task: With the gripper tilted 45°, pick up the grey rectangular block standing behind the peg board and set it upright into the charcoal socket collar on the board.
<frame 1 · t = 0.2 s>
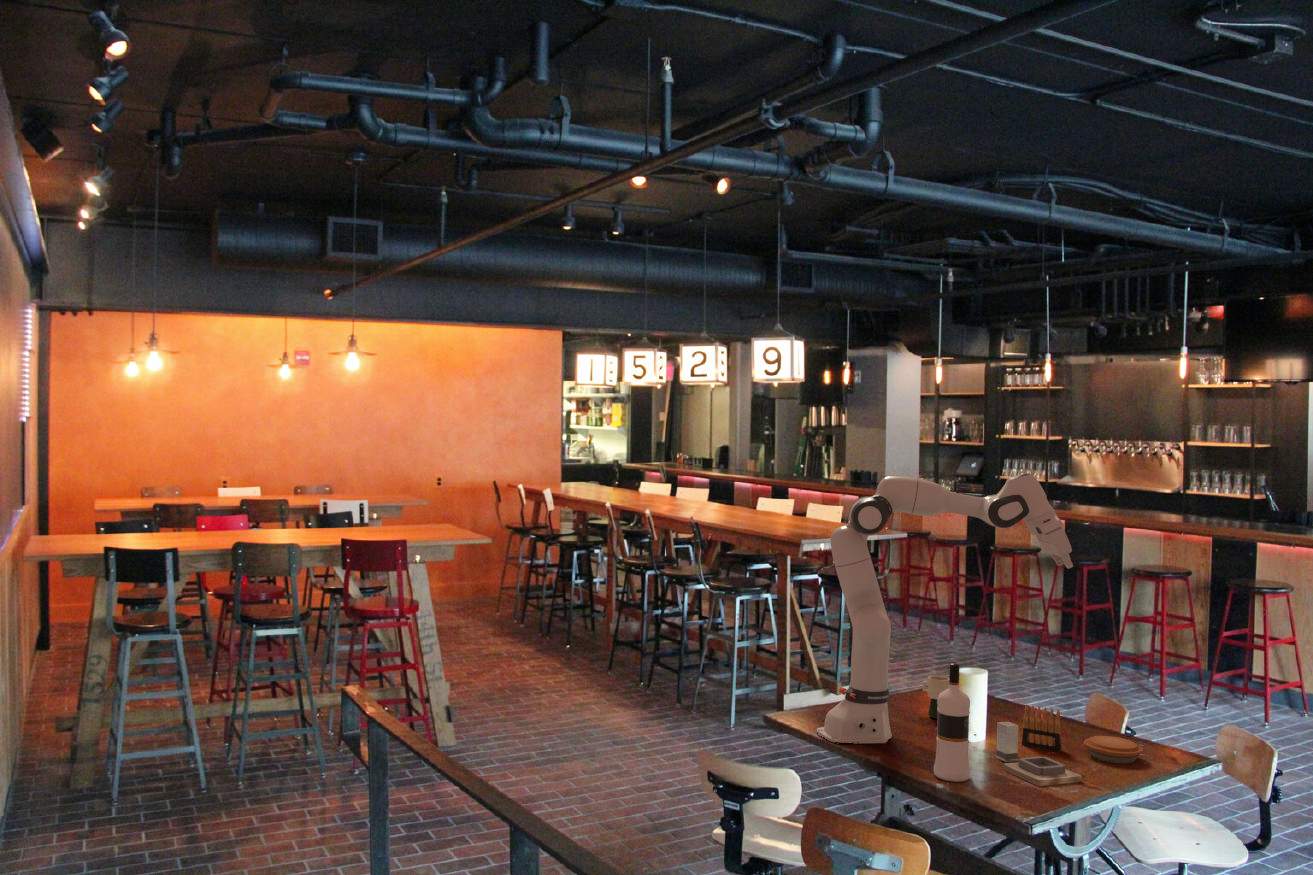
hand: (1065, 566, 292), 54 cm above the table, tool tilted 30°, fingers open, 8 cm apart
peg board: (1041, 775, 267), on the table
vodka: (951, 777, 263), on the table
ammunition clip: (1041, 748, 293), on the table
pie: (1112, 758, 285), on the table
character mug: (938, 718, 322), on the table
grey rectangular block: (1006, 759, 280), on the table
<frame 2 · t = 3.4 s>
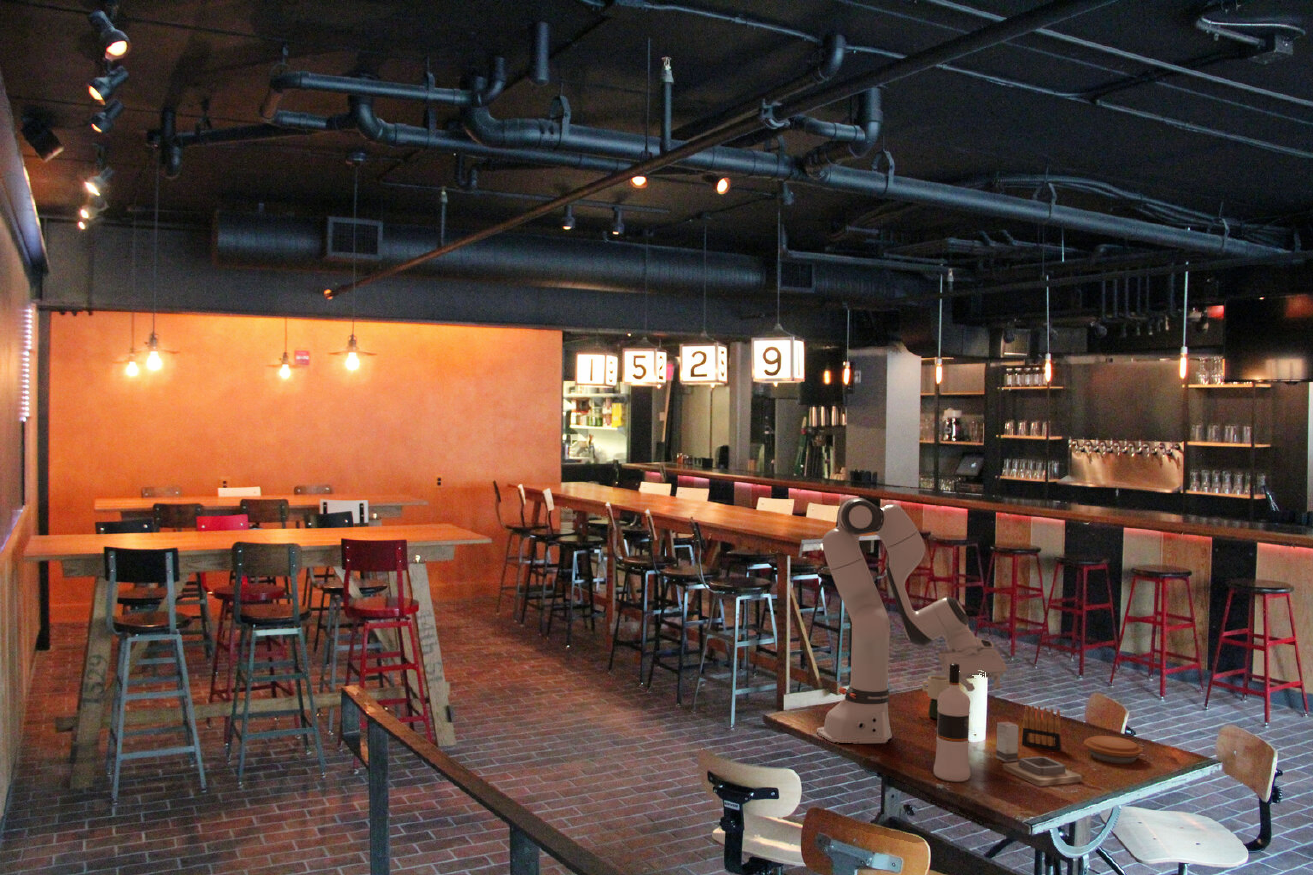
hand: (985, 689, 290), 17 cm above the table, tool tilted 45°, fingers open, 8 cm apart
nothing on the table moved.
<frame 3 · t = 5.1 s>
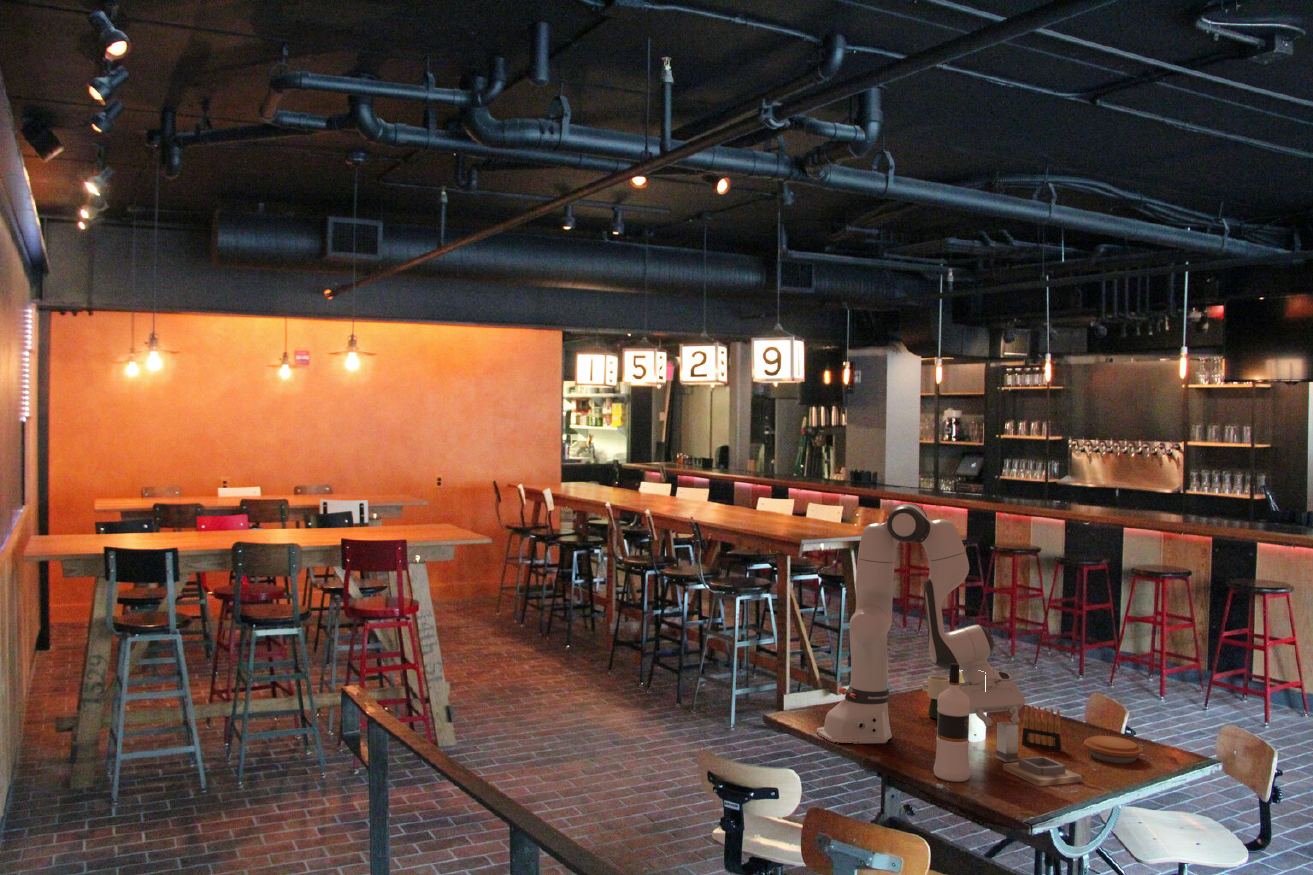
hand: (1003, 723, 283), 9 cm above the table, tool tilted 45°, fingers open, 8 cm apart
nothing on the table moved.
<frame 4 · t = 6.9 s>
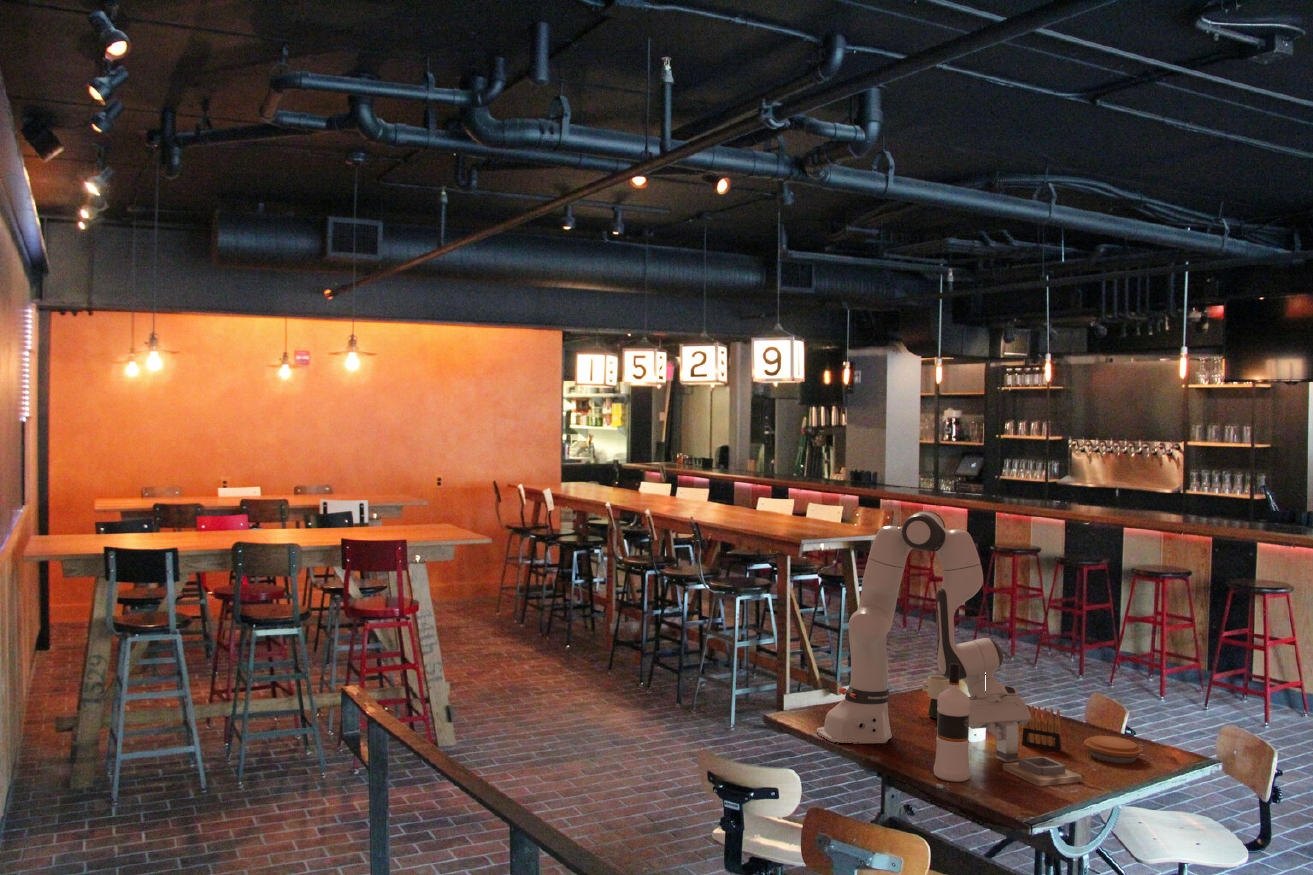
hand: (1008, 739, 280), 6 cm above the table, tool tilted 45°, fingers closed on grey rectangular block, 4 cm apart
grey rectangular block: (1006, 759, 280), on the table, touching gripper
everything else where it was.
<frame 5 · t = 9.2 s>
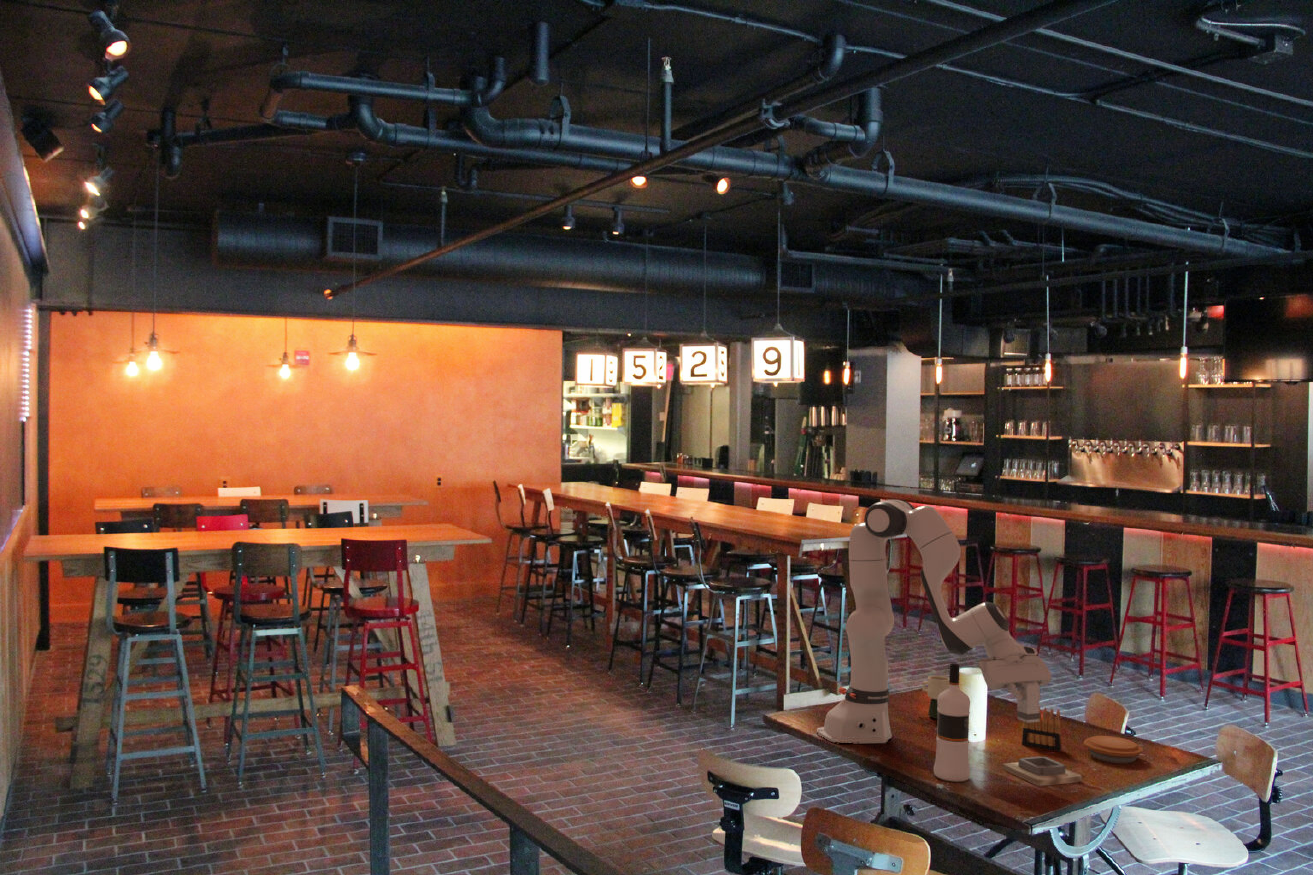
hand: (1029, 699, 273), 19 cm above the table, tool tilted 45°, fingers closed on grey rectangular block, 4 cm apart
grey rectangular block: (1028, 720, 274), point 13 cm above the table, touching gripper
everything else where it was.
when the fingers open (9 cm above the table, at t = 11.7 s): grey rectangular block drops 1 cm, resting on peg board.
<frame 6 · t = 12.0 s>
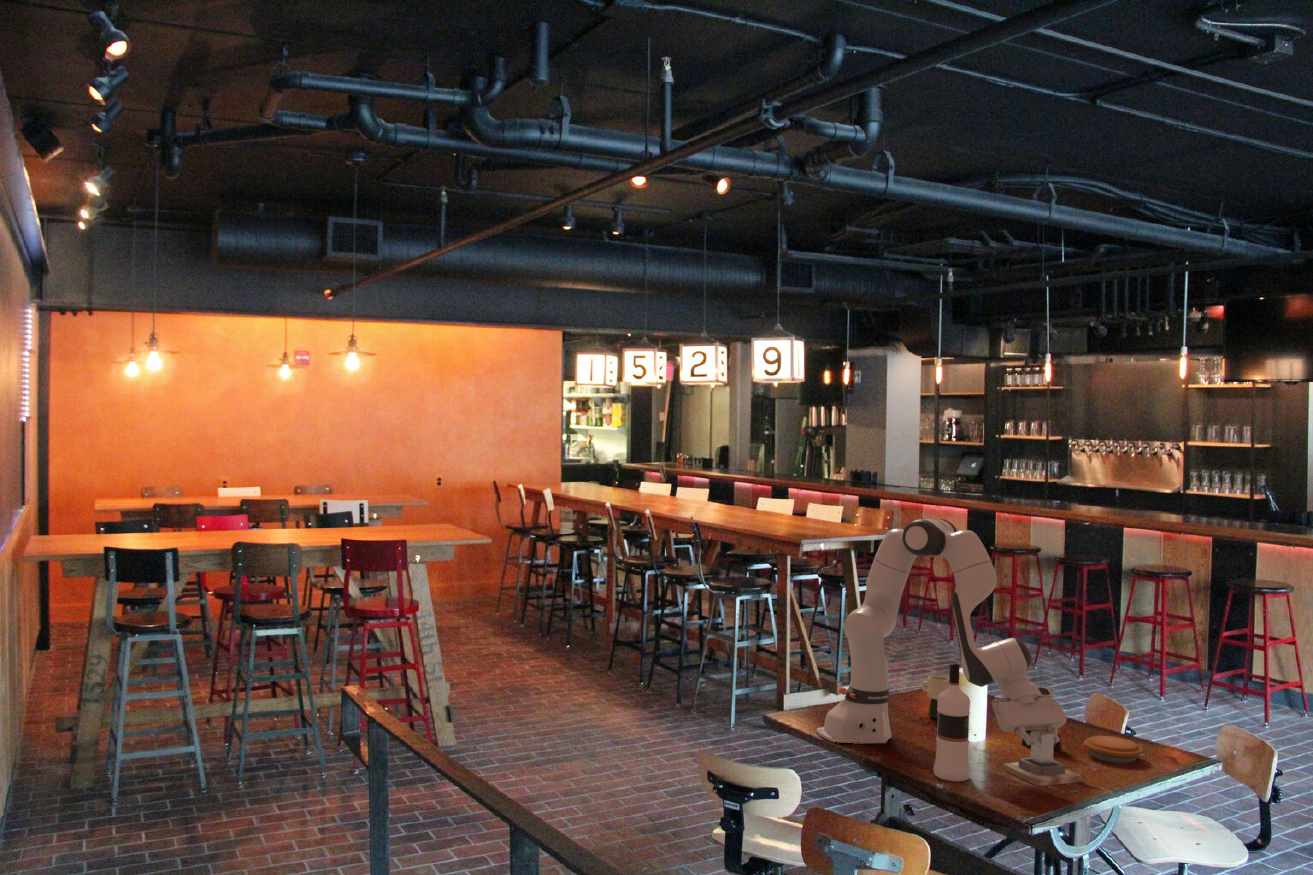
hand: (1044, 742, 267), 9 cm above the table, tool tilted 45°, fingers open, 7 cm apart
grey rectangular block: (1041, 769, 267), point 1 cm above the table, touching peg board
everything else where it was.
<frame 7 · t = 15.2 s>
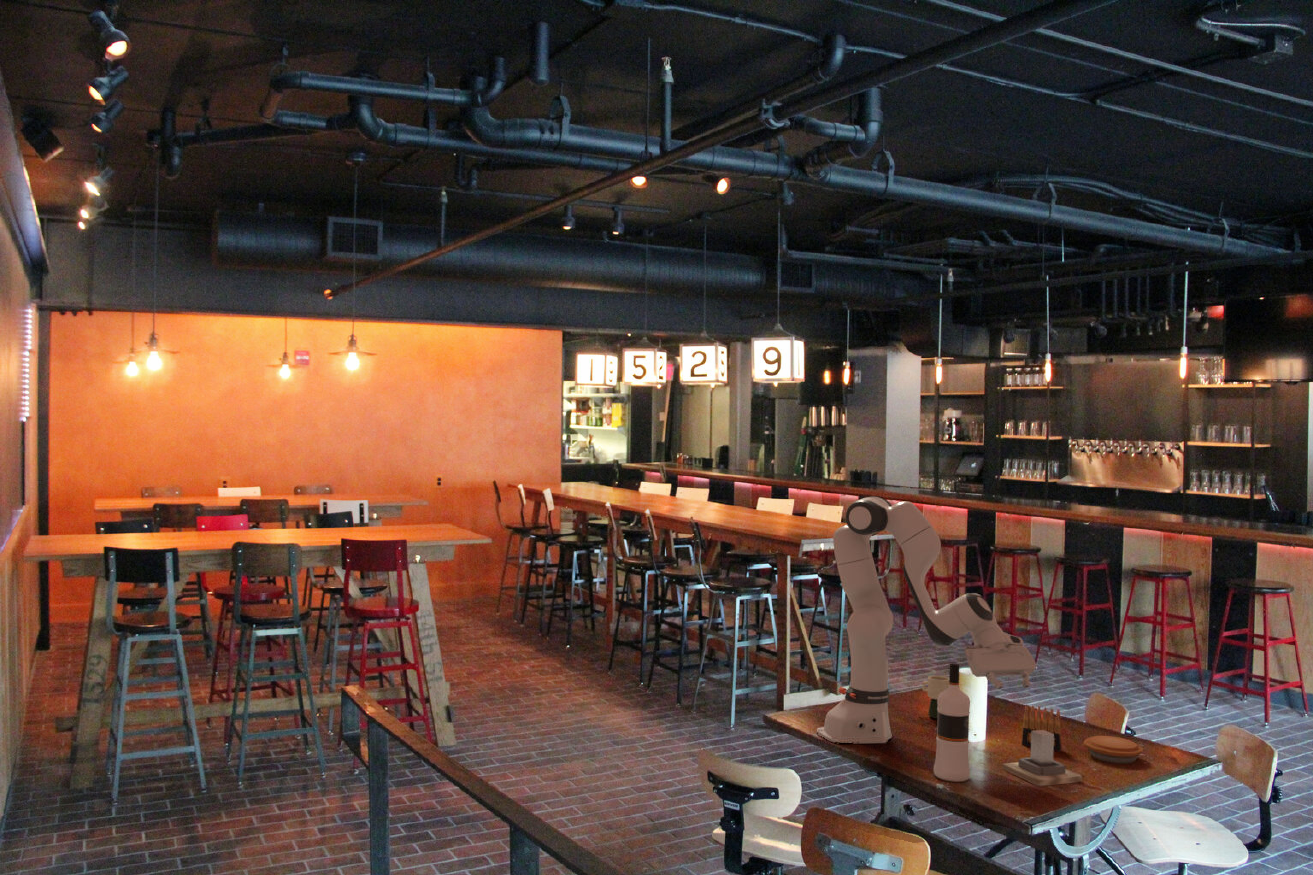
hand: (1013, 687, 278), 21 cm above the table, tool tilted 45°, fingers open, 8 cm apart
nothing on the table moved.
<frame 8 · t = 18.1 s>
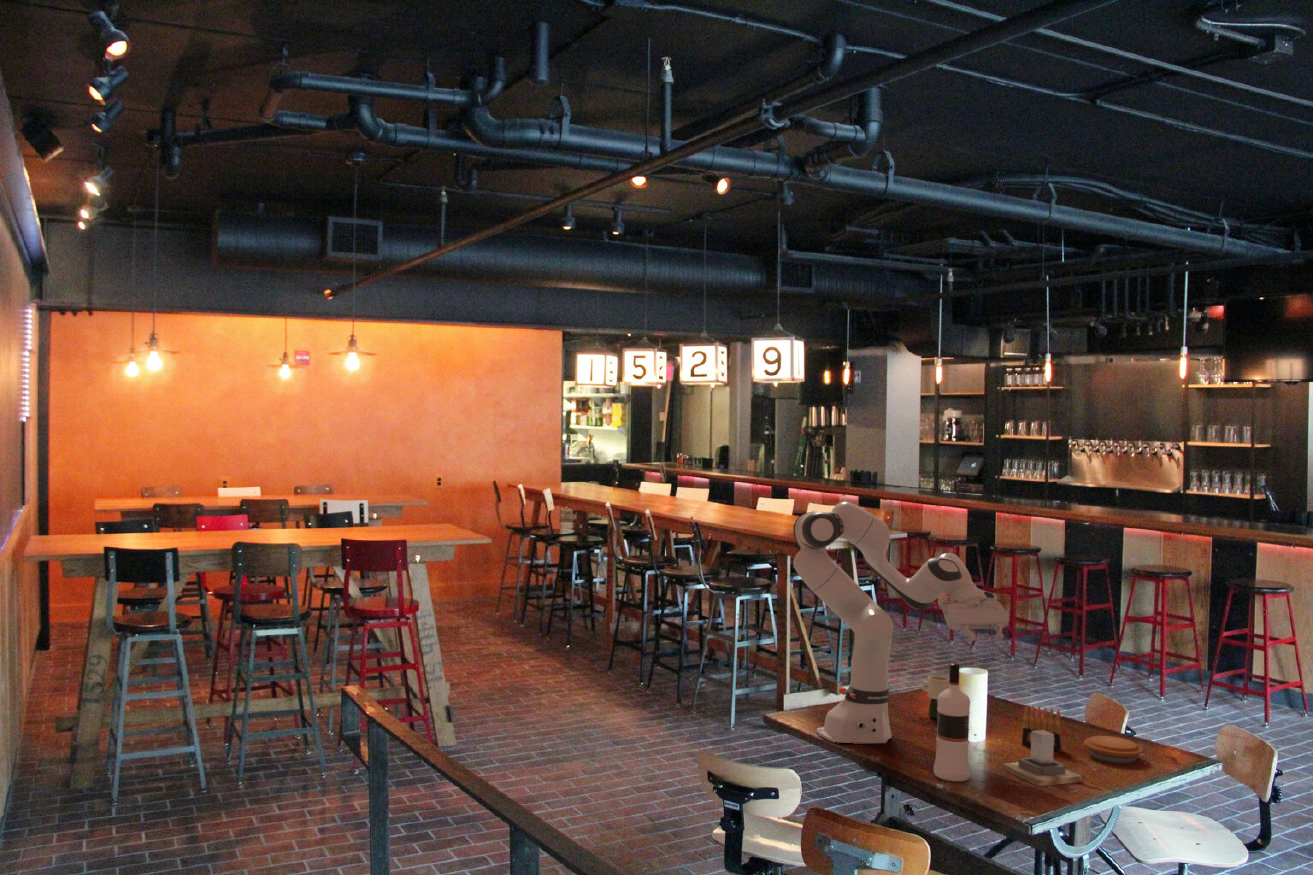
hand: (987, 639, 293), 31 cm above the table, tool tilted 45°, fingers open, 8 cm apart
nothing on the table moved.
at the end: grey rectangular block 0.0 cm off-centre on the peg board, point 1.5 cm above the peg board's base; grey rectangular block tilted 0°; the gripper is holding nothing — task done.
